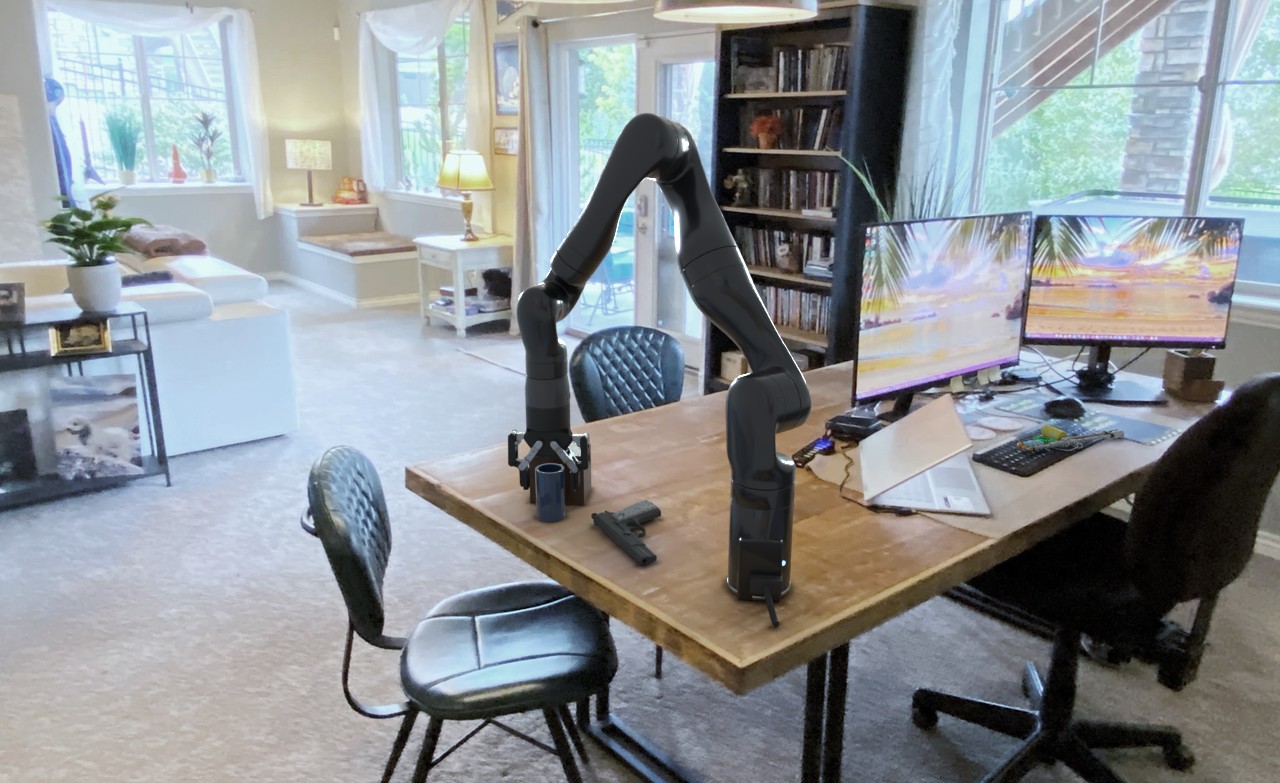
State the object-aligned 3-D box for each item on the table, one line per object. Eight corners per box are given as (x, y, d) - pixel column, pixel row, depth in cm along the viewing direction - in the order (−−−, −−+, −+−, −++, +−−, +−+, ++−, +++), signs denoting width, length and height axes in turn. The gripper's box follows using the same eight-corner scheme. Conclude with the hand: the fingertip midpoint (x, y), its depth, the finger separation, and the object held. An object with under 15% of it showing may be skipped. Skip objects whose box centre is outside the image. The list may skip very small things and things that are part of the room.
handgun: (647, 509, 165) (586, 521, 160) (647, 497, 164) (586, 509, 159) (702, 554, 150) (637, 570, 144) (703, 541, 149) (637, 556, 143)
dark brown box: (584, 505, 167) (583, 457, 165) (530, 502, 168) (528, 454, 166) (591, 488, 175) (590, 442, 172) (539, 486, 176) (538, 440, 173)
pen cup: (562, 522, 160) (561, 474, 158) (534, 521, 161) (532, 472, 158) (567, 511, 165) (566, 463, 162) (540, 509, 165) (538, 462, 163)
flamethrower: (998, 443, 198) (1035, 460, 190) (1000, 431, 198) (1037, 448, 189) (1093, 427, 211) (1132, 442, 202) (1095, 416, 210) (1134, 431, 201)
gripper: (500, 405, 154) (504, 496, 158) (585, 408, 152) (587, 500, 157) (511, 392, 161) (515, 480, 166) (592, 395, 159) (594, 483, 164)
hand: (550, 489), depth 161 cm, fingers open, 8 cm apart
